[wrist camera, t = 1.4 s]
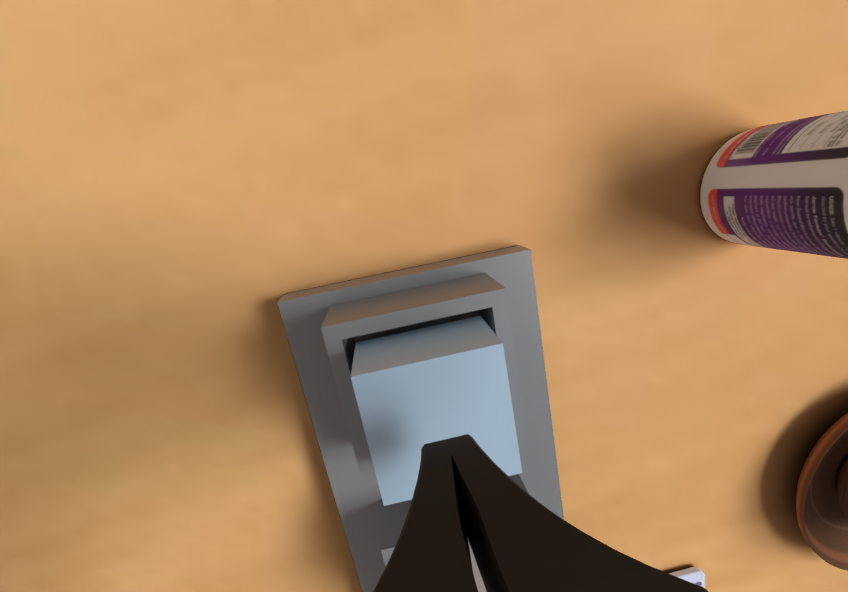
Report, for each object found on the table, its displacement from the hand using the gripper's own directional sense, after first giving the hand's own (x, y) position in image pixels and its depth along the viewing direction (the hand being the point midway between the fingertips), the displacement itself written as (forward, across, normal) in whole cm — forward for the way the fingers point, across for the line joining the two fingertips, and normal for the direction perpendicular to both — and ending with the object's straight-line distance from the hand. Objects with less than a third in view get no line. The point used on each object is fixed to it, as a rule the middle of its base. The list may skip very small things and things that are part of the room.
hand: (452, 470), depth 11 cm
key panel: (+9, 0, +5) cm, 10 cm away
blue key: (+5, 0, 0) cm, 5 cm away
